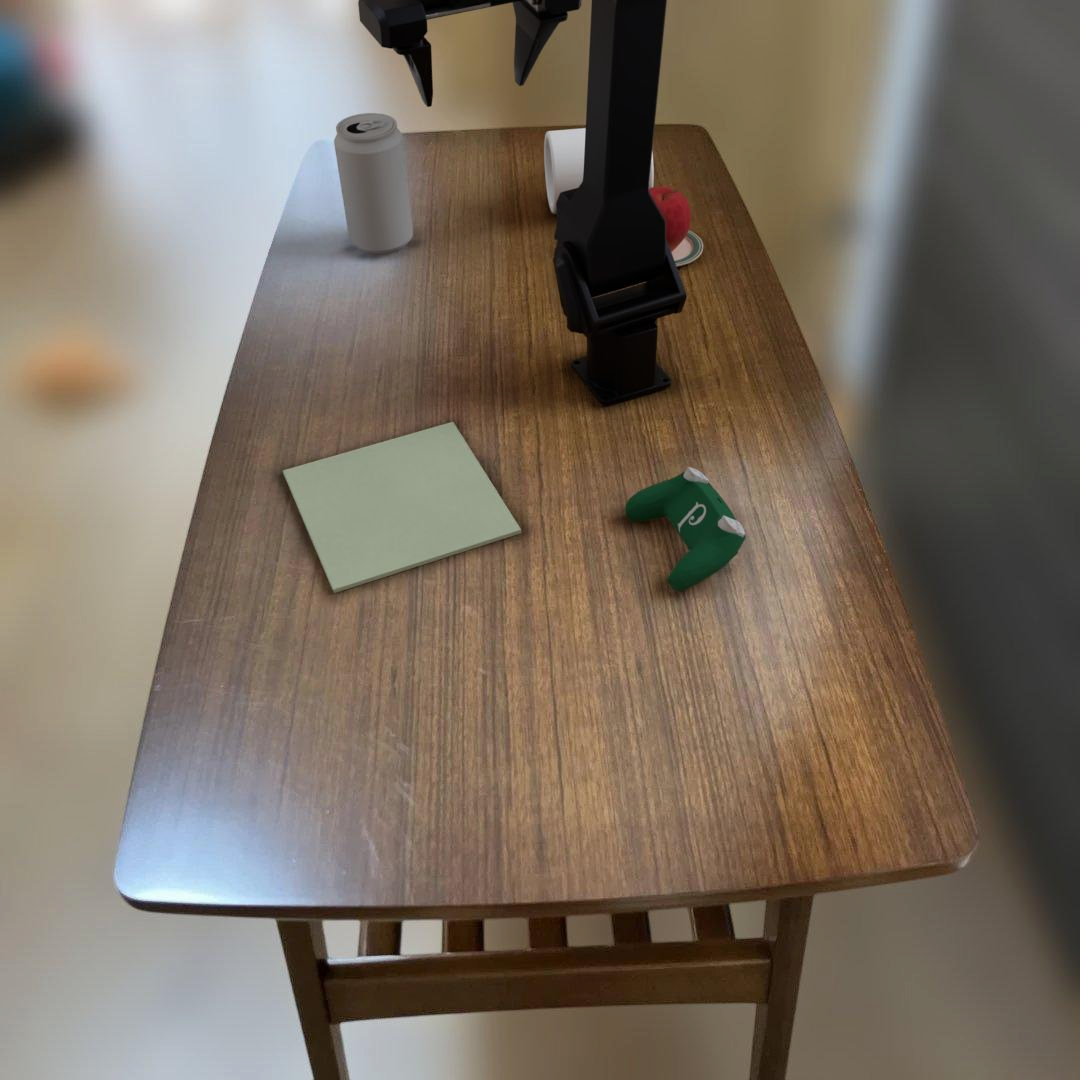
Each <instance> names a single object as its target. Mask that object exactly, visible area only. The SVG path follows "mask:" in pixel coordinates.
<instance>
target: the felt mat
mask: <svg viewBox="0 0 1080 1080" xmlns="http://www.w3.org/2000/svg"><path fill="white" fill-rule="evenodd" d="M282 475H283V476H284V479H285V481H286V484H287V486H288V488H289V490H290V493H291V495H292V498H293V500H294V502H295V506H296V507H297V510H298V512H299V515H300V516H301V519H302V521H303V524H304V526H305V529H306V531H307V533H308V536H309V538H310V541H311V543H312V545H313V548H314V550H315V552H316V554H317V556H318V559H319V562H320V564H321V566H322V568H323V571H324V575H326V579H327V580H328V583H329V585H330V588H331V590H332V592H333V594H338V593H339V592H343V591H347V590H349V589H353V588H355V587H358V586H359V587H360V586H362V585H365V584H368V583H372V582H374V581H377V580H380V579H383V578H386V577H389V576H393V575H396V574H400V573H402V572H405V571H409V570H411V569H414V568H417V567H420V566H424V565H426V564H431V563H433V562H436V561H439V560H442V559H443V560H444V559H446V558H449V557H452V556H455V555H458V554H461V553H464V552H467V551H471V550H473V549H474V550H475V549H476V548H477V549H478V548H480V547H482V546H486V545H488V544H492V543H496V542H498V541H501V540H504V539H509V538H511V537H514V536H517V535H521V534H522V528H521V527H520V525H519V524H518V522H517V521H516V519H515V517H514V515H513V514H512V513H511V511H510V510H509V508H508V506H507V505H506V503H505V502H504V500H503V498H502V497H501V495H500V494H499V492H498V491H497V489H496V488H495V486H494V485H493V484H494V483H493V482H492V481H491V480H490V478H489V476H488V475H487V473H486V472H485V469H484V468H483V467H482V465H481V463H480V462H479V460H478V458H477V457H476V456H475V454H474V452H473V451H472V449H471V448H470V446H469V444H468V443H467V441H466V440H465V438H464V436H463V435H462V434H461V432H460V430H459V429H458V427H457V426H456V424H455V422H454V421H451V422H447V423H443V424H439V425H435V426H432V427H430V428H426V429H423V430H419V431H415V432H412V433H409V434H404V435H401V436H399V437H395V438H391V439H387V440H385V441H384V440H383V441H381V442H377V443H374V444H370V445H366V446H363V447H359V448H356V449H353V450H349V451H345V452H342V453H340V454H336V455H332V456H328V457H324V458H321V459H318V460H315V461H314V460H313V461H311V462H307V463H304V464H301V465H297V466H293V467H290V468H287V469H283V470H282Z"/></svg>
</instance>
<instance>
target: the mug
mask: <svg viewBox="0 0 1080 1080" xmlns="http://www.w3.org/2000/svg"><path fill="white" fill-rule="evenodd" d="M585 131H586V127H582V128H580V127H579V128H570V129H569V128H568V129H559V130H558V129H557V130H548V131H546V132H545V135H544V141H543V159H544V160H543V162H544V163H543V165H544V177H545V179H544V180H545V187H546V196H547V201H548V206H549V209H550V213H552V214H553V215H557V212H556V202H557V200H558V197H559V194H560V193H561V192H564V191H567V190H571V189H575V188H578V187H579V186H580V185H581V183H582V181H583V172H584V151H585ZM654 167H655V166H654V153H653V151H652V159H651V169H650V179H649V189H650V188H652V187H654V180H655V179H654V177H655V176H654V174H655V171H654V169H655V168H654Z"/></svg>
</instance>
